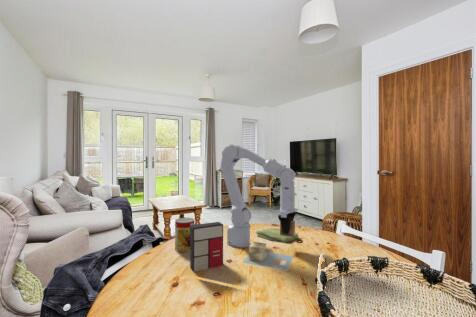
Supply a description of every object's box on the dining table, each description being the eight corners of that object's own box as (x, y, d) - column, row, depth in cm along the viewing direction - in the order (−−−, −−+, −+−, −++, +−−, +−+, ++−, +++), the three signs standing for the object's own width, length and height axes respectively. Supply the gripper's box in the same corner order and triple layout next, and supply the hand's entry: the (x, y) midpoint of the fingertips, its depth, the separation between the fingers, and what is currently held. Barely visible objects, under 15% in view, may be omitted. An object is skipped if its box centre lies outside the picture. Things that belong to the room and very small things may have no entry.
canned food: (196, 250, 97) (196, 221, 97) (177, 253, 93) (177, 223, 93) (191, 243, 104) (191, 216, 104) (173, 246, 100) (173, 218, 100)
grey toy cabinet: (193, 274, 76) (193, 228, 76) (189, 269, 80) (189, 225, 80) (224, 267, 81) (224, 224, 81) (219, 262, 85) (219, 221, 85)
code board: (242, 264, 83) (242, 262, 83) (254, 251, 95) (254, 249, 95) (286, 273, 77) (287, 270, 77) (293, 258, 89) (293, 255, 89)
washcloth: (271, 231, 124) (271, 225, 124) (300, 239, 111) (300, 232, 111) (254, 236, 116) (254, 229, 116) (282, 246, 102) (283, 239, 102)
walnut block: (280, 235, 94) (280, 222, 94) (282, 231, 98) (282, 219, 98) (292, 236, 92) (292, 224, 92) (294, 233, 96) (294, 221, 96)
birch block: (248, 259, 85) (249, 246, 85) (253, 254, 90) (253, 241, 90) (262, 262, 83) (262, 248, 83) (266, 256, 88) (266, 243, 88)
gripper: (294, 201, 87) (294, 238, 87) (300, 196, 100) (300, 227, 100) (275, 200, 89) (275, 235, 89) (283, 195, 103) (283, 225, 103)
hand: (287, 231), depth 95 cm, fingers closed on walnut block, 5 cm apart
